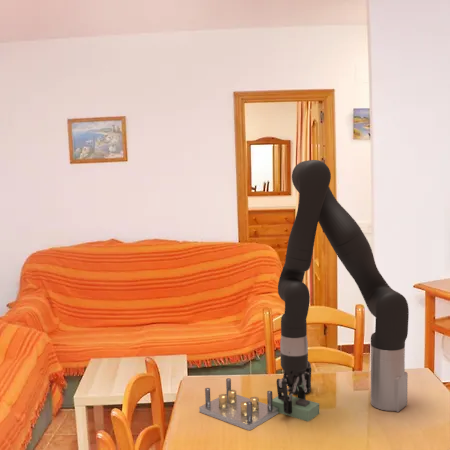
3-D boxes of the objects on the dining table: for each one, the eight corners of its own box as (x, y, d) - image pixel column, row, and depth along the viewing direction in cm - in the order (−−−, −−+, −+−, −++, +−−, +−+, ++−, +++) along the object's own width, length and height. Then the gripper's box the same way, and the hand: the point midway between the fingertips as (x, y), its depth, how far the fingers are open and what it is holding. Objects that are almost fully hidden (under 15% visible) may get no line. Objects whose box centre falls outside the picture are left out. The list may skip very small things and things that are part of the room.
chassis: (278, 413, 153) (278, 390, 152) (249, 430, 143) (248, 406, 143) (229, 396, 165) (229, 375, 164) (199, 412, 155) (198, 389, 154)
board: (319, 413, 152) (319, 399, 152) (308, 421, 148) (308, 407, 147) (282, 403, 160) (282, 389, 159) (271, 410, 155) (270, 396, 155)
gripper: (290, 360, 144) (291, 422, 146) (319, 346, 155) (320, 403, 157) (267, 354, 149) (268, 414, 151) (297, 341, 160) (297, 397, 161)
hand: (294, 408), depth 154 cm, fingers closed on board, 6 cm apart
